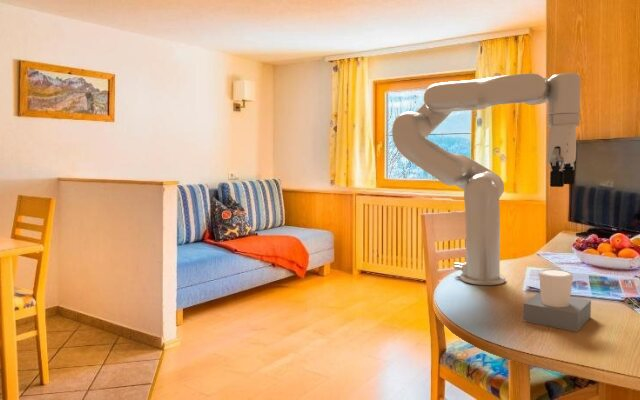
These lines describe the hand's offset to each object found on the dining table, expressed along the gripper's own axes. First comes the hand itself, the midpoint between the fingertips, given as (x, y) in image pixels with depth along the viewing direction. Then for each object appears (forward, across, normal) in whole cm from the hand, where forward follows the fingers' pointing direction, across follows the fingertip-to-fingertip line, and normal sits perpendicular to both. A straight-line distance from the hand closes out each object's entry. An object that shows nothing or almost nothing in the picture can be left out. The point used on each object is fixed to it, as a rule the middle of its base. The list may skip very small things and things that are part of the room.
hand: (562, 185), depth 127 cm
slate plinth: (+28, +26, +6) cm, 39 cm away
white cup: (+24, +27, +6) cm, 37 cm away
